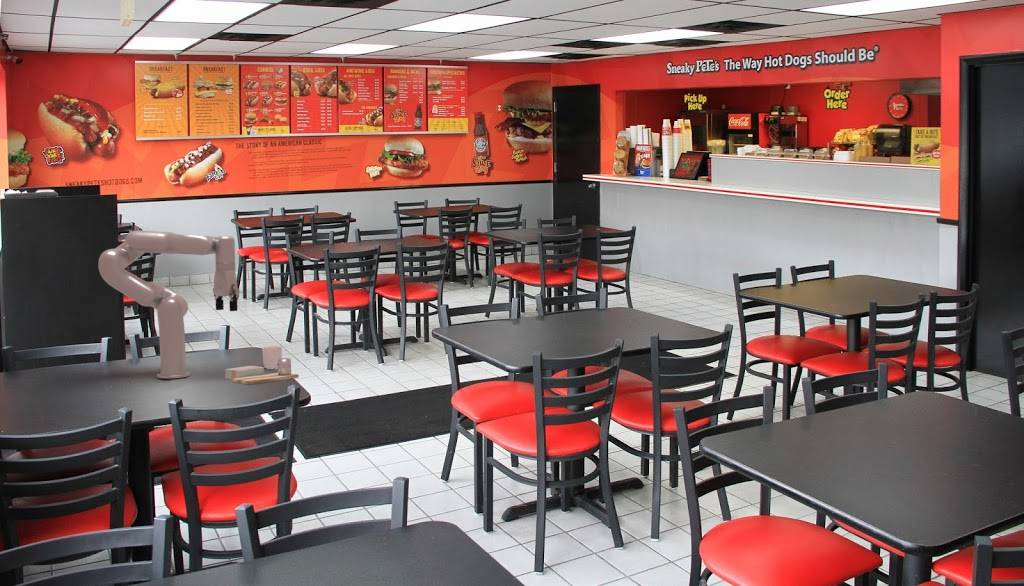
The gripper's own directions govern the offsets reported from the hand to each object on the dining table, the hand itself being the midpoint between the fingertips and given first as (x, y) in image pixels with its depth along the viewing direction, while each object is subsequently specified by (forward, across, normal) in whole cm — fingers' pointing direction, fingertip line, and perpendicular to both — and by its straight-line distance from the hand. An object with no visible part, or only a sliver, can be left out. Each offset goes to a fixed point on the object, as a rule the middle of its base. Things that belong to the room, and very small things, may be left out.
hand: (226, 310), depth 388 cm
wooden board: (+26, +22, +2) cm, 34 cm away
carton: (+26, +11, 0) cm, 28 cm away
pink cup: (+26, +4, +18) cm, 32 cm away
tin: (+25, +24, +10) cm, 36 cm away
